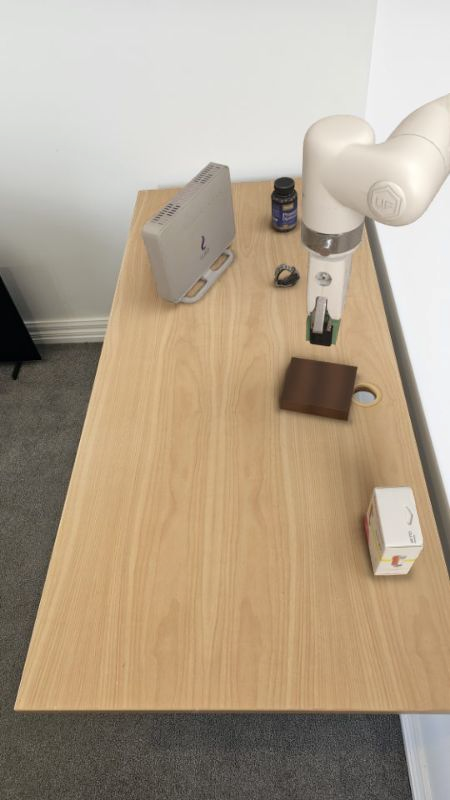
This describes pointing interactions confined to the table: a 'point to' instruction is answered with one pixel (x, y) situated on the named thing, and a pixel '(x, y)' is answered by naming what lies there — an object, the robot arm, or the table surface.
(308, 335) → the green cube
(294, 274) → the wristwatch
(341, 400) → the walnut block
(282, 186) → the pill bottle
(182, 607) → the table surface
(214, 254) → the network device
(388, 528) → the ink box
